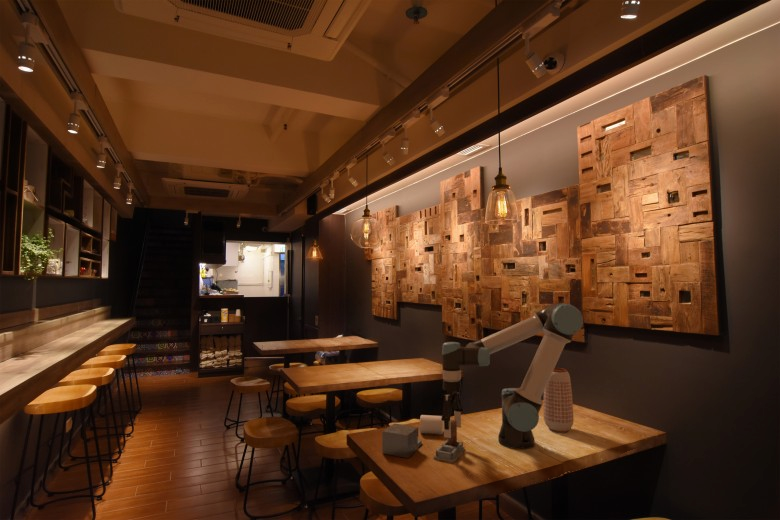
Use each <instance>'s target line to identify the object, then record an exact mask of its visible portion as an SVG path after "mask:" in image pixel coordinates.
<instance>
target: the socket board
mask: <svg viewBox="0 0 780 520" xmlns="http://www.w3.org/2000/svg"><path fill="white" fill-rule="evenodd" d="M463 443H464V442H462V441H458V440H457V447H454V446H449V445H448V439H446V441H444V442H443V443H442V444H441V445H440V446H439V447H438V448H437V450H435V455H433V460H437V461H443V462H446V463H447V462H448V463H452V464H454V463H455V462H456V461H457V459H458V458H459V457H460V456H461V455H462V454H463V452H464V450H465V446H464V444H463Z"/></svg>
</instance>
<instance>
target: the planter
mask: <svg viewBox="0 0 780 520" xmlns="http://www.w3.org/2000/svg"><path fill="white" fill-rule="evenodd" d="M571 381H572V380H571V376H570V373H569V372H568V370H567V369H565V368H561V367H555V368H554V370H553V372H552V374H551V377H550V379H549V381H548V383H547V385H546V388H545V390H544V392H543V421H544V423H545V426H546V427H547V428H548V429H549V430H550V431H552V432H557V433H567V432H569V430H571V428H572V427H573V425H574V421H575V419H574V402H573V389H572V382H571Z"/></svg>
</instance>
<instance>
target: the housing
mask: <svg viewBox="0 0 780 520" xmlns="http://www.w3.org/2000/svg"><path fill="white" fill-rule="evenodd" d="M418 438H419V426H413V425H409V424H400V423H396V422H395V423H392V424H391V425H389V426H388V427H387V428H385V429H384V430H382V442H381V444H382V446H381V447H382V448H381V449H382V454H385V455H389V456H395V457H401V458H404V459H409V457H410V456H412V455H413V454H414V453H415V452H416V451H417V450H419V447H418V440H419V439H418Z"/></svg>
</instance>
